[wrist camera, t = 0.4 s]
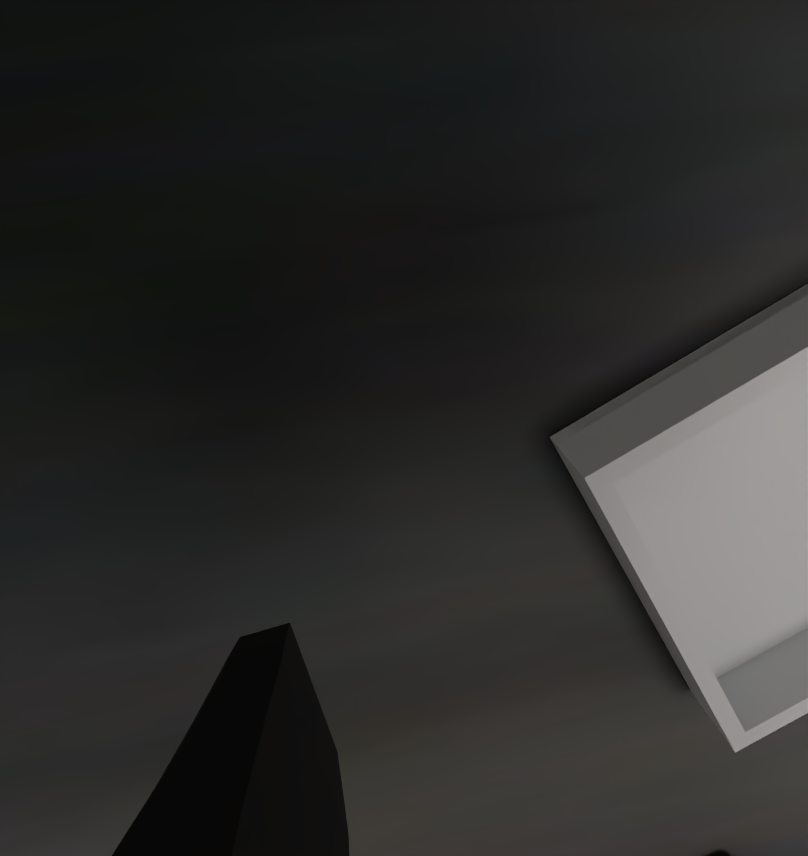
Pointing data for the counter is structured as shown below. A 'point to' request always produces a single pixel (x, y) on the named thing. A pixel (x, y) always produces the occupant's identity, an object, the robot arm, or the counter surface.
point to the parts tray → (715, 513)
